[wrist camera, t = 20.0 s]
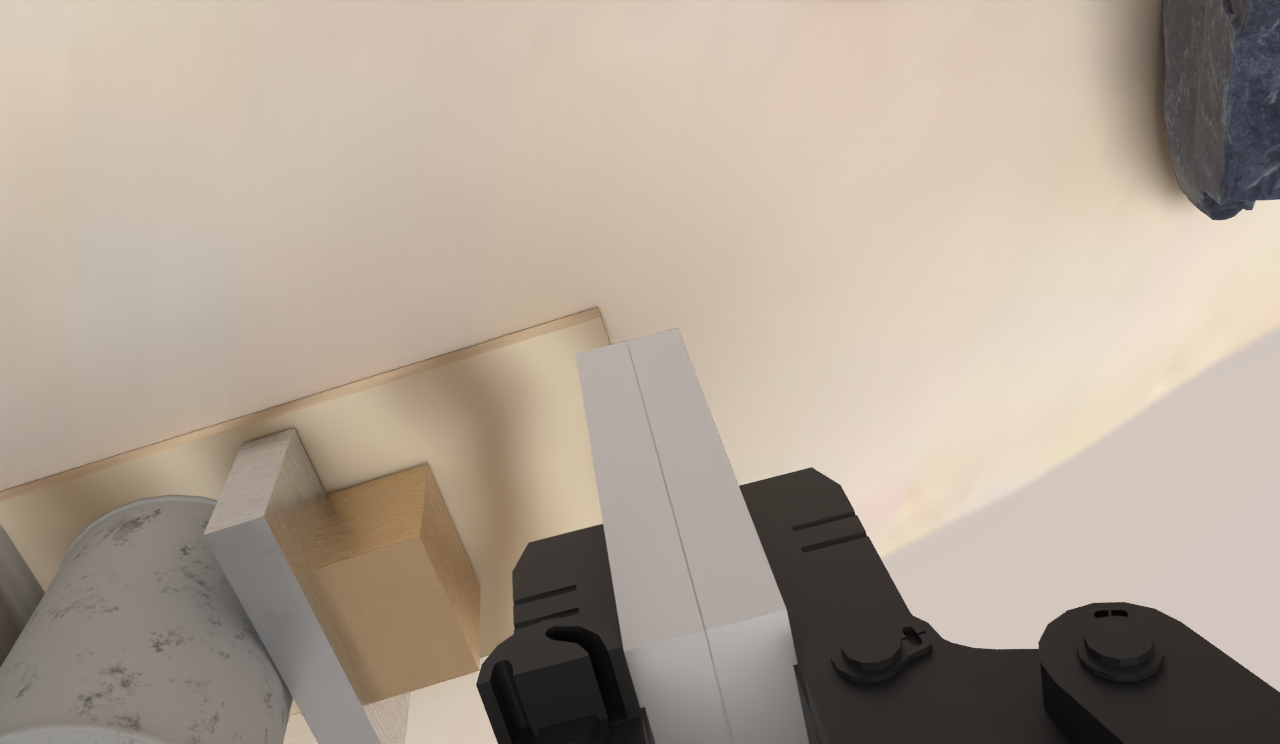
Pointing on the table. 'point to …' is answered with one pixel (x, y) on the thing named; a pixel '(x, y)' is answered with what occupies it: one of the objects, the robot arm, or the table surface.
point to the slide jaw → (347, 587)
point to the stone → (1223, 101)
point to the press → (367, 462)
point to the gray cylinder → (142, 642)
